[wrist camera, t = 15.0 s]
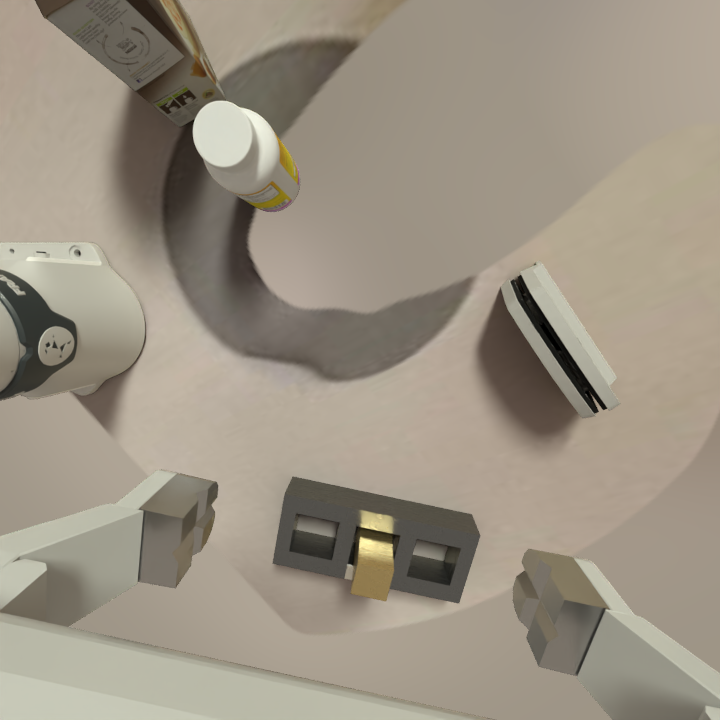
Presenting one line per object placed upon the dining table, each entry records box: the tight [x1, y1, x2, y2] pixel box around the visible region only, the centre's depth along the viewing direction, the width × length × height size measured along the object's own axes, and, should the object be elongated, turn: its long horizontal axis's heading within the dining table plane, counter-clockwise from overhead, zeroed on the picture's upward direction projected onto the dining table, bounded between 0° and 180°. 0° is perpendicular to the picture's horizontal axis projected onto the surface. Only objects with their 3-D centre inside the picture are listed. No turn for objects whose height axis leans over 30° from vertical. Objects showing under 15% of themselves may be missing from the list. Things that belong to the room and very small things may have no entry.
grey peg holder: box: [273, 477, 480, 603], centre depth 46 cm, size 24×10×4 cm, turn 79°
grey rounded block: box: [501, 260, 620, 418], centre depth 38 cm, size 17×5×10 cm, turn 37°
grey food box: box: [35, 0, 225, 127], centre depth 30 cm, size 9×6×16 cm
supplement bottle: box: [193, 101, 300, 212], centre depth 33 cm, size 7×7×13 cm
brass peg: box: [351, 526, 394, 601], centre depth 43 cm, size 4×4×9 cm
